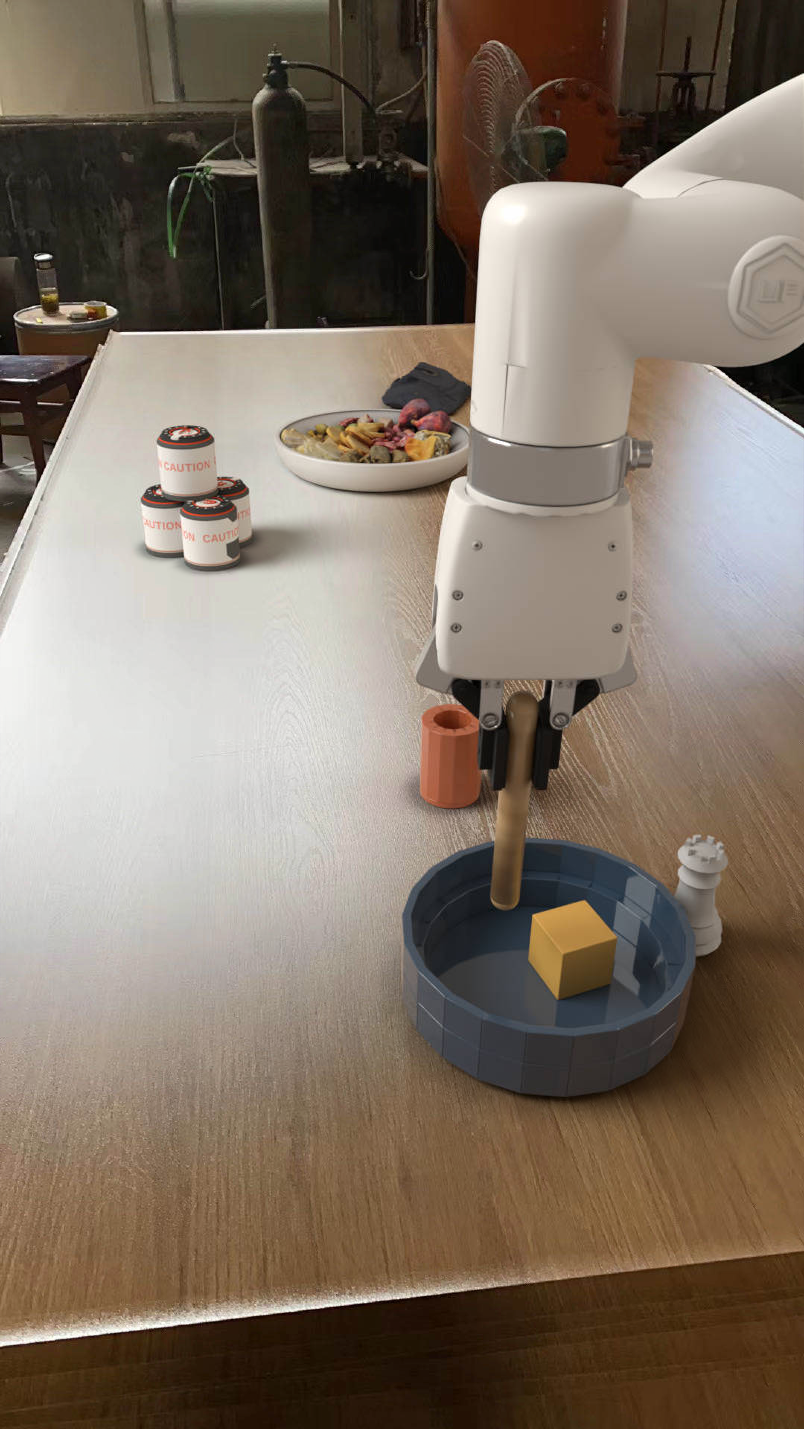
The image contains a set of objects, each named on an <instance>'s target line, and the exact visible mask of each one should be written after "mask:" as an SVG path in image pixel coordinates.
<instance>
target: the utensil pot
mask: <svg viewBox="0 0 804 1429" xmlns="http://www.w3.org/2000/svg"><path fill="white" fill-rule="evenodd" d="M478 732H479V720H478V719H477V718H476V717H475V716H474V715H472V714H471V713H470V712H469V711H468V710H467V709H466V708H465V707H464V706H463V705H462V704H456V703H445V704H440V705H439V704H438V705H434V706H433V707H430V708H428V709H426V710H425V711H424V713H423V714H422V715H421V718H420V750H419V752H420V756H419V794H420V796H421V798H422V799H423V800H424V801H425V802H427V803H428V804H430V805H432V806H434V807H438V808H442V809H460V808H461V809H462V808H466V807H468V806H470V805H472V804H474V803H475V802H476V801H477V800H478V799H479V797H480V794H481V788H482V787H481V786H482V771H483V770H479V768H478V763H477V746H478Z"/></svg>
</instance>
